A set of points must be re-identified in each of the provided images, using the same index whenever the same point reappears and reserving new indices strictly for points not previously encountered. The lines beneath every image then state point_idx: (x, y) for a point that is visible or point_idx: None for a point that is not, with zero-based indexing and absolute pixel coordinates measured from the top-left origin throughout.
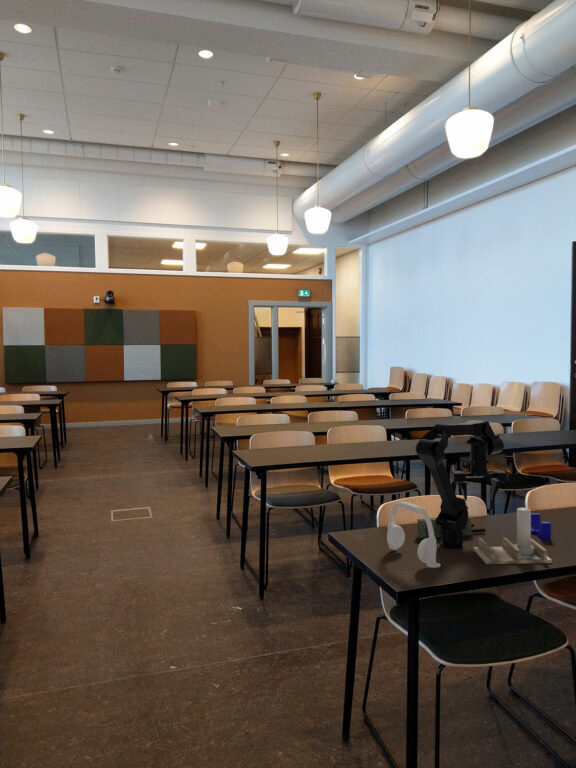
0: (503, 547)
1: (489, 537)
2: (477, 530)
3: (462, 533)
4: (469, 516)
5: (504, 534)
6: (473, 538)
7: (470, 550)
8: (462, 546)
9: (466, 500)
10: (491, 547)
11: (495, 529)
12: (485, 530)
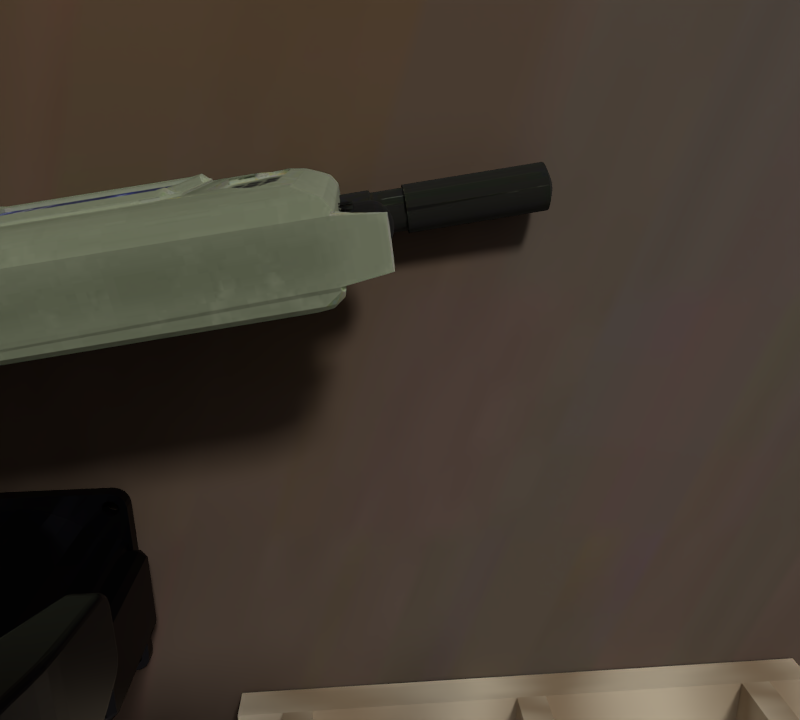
0: (516, 714)
1: (526, 346)
2: (437, 226)
3: (111, 714)
4: (325, 248)
5: (741, 245)
6: (335, 378)
7: (212, 697)
8: (141, 665)
9: (113, 677)
10: (406, 717)
11: (730, 37)
12: (546, 208)
